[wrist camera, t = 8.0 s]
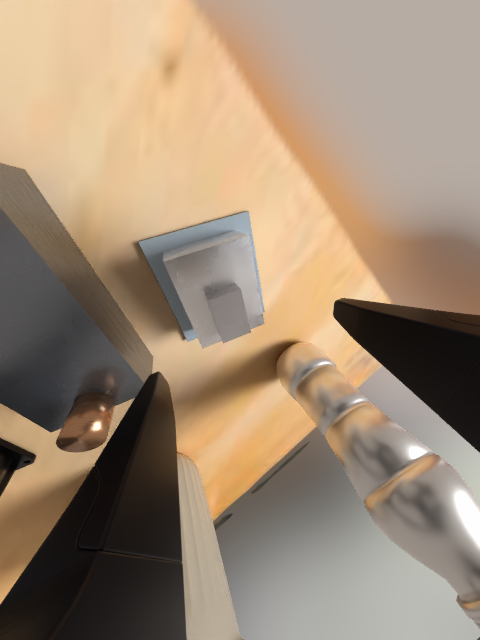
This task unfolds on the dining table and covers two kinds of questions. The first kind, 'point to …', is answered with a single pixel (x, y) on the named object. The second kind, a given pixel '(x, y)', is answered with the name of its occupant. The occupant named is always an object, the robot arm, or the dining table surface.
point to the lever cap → (217, 286)
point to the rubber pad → (186, 236)
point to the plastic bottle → (392, 473)
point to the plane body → (59, 325)
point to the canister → (202, 563)
